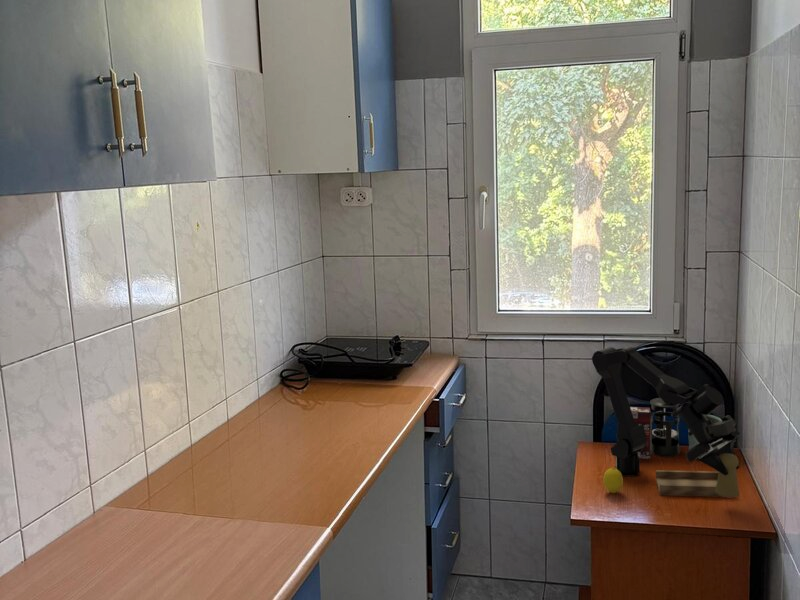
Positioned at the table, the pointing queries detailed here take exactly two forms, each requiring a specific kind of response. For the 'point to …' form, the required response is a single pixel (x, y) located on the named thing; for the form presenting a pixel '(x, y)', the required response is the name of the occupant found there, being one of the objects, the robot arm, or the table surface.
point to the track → (687, 483)
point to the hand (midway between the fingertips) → (732, 471)
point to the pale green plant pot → (692, 439)
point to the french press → (663, 431)
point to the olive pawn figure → (728, 477)
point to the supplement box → (644, 418)
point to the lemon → (613, 480)
